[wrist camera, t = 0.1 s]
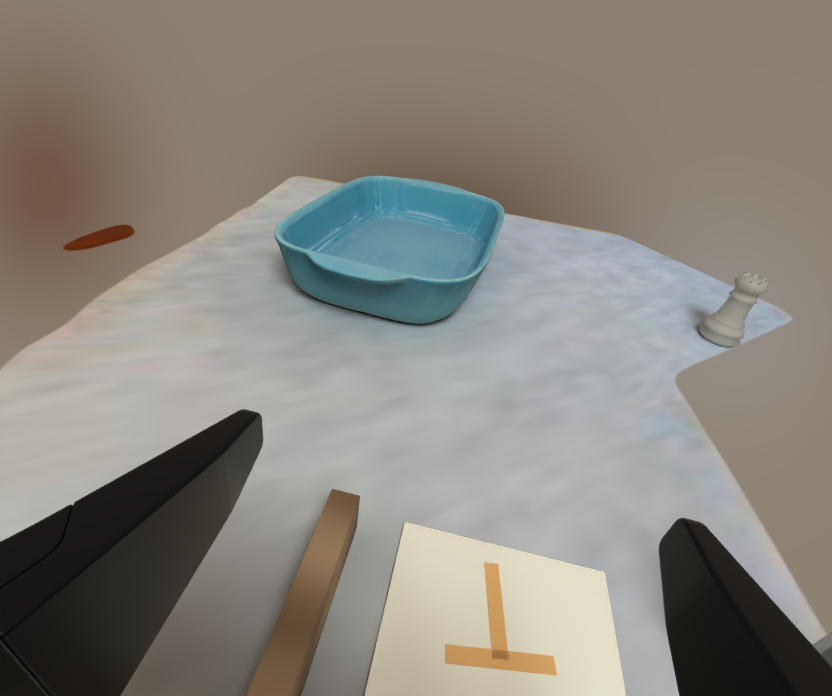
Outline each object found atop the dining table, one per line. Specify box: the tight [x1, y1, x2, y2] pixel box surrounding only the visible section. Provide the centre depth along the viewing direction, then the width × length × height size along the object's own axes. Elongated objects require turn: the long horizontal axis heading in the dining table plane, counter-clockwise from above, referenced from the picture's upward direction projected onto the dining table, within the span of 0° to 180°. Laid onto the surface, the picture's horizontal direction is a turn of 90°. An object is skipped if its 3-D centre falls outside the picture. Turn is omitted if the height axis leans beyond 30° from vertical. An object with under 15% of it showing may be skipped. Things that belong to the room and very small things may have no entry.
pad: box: [364, 522, 626, 696], centre depth 21 cm, size 12×12×1 cm
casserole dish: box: [274, 176, 504, 324], centre depth 55 cm, size 37×22×7 cm, turn 165°
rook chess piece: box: [699, 272, 769, 347], centre depth 50 cm, size 4×4×8 cm
